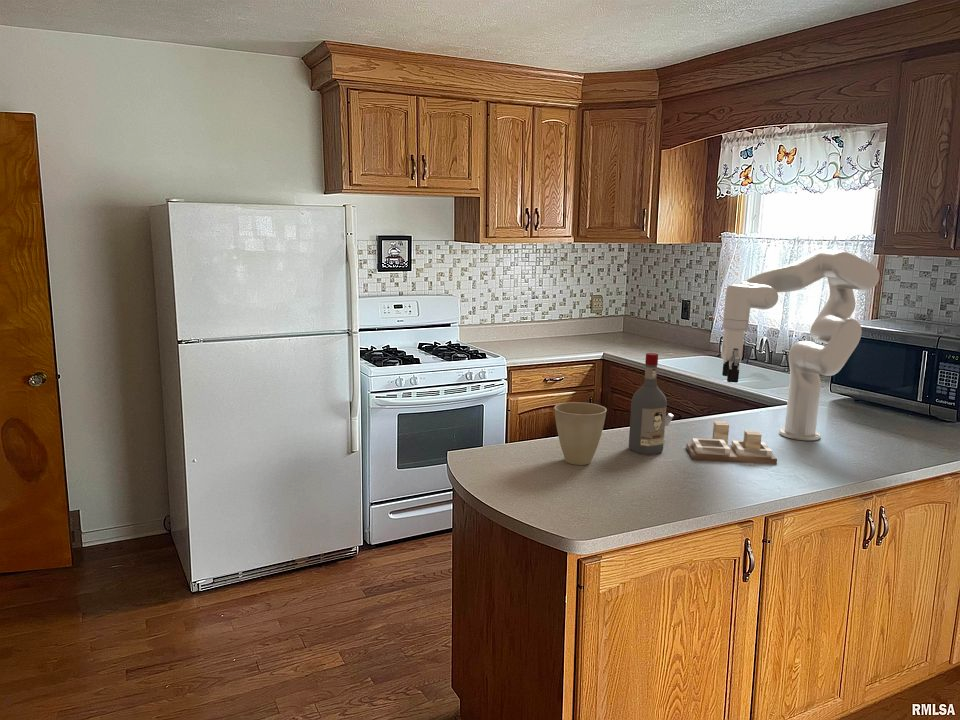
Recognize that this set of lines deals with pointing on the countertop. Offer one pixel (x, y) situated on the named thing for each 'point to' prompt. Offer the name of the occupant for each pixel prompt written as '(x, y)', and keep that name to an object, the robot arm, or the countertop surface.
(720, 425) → the tan wooden block
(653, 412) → the liquor
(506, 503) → the countertop surface
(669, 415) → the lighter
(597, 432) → the plant pot
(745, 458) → the board
